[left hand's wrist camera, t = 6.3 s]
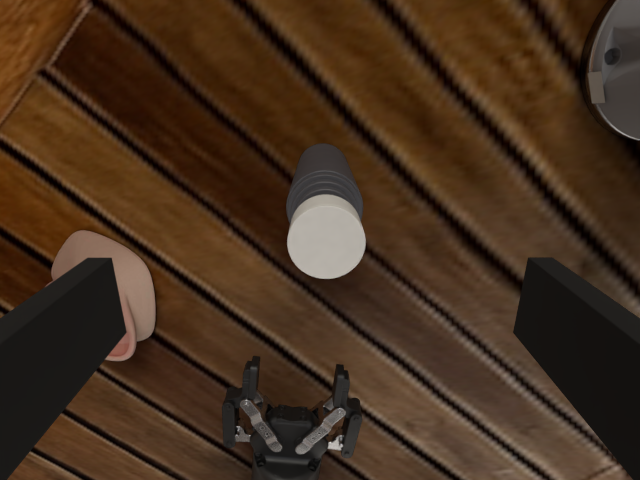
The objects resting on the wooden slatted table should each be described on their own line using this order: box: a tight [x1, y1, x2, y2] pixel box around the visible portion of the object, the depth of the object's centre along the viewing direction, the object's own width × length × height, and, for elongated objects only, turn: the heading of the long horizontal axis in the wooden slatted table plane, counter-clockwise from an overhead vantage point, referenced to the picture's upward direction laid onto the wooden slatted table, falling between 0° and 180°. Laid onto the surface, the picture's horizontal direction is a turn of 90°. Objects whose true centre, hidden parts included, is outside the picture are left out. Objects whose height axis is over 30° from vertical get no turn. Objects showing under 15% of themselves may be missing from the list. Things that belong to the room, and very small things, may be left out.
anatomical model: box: [45, 230, 156, 361], centre depth 42 cm, size 13×4×12 cm
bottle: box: [286, 144, 363, 225], centre depth 29 cm, size 5×5×21 cm
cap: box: [287, 195, 365, 279], centre depth 20 cm, size 4×4×2 cm
